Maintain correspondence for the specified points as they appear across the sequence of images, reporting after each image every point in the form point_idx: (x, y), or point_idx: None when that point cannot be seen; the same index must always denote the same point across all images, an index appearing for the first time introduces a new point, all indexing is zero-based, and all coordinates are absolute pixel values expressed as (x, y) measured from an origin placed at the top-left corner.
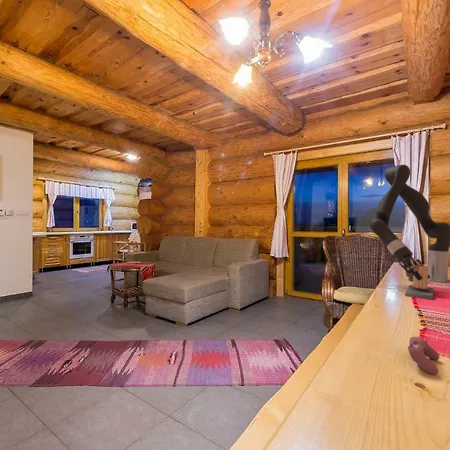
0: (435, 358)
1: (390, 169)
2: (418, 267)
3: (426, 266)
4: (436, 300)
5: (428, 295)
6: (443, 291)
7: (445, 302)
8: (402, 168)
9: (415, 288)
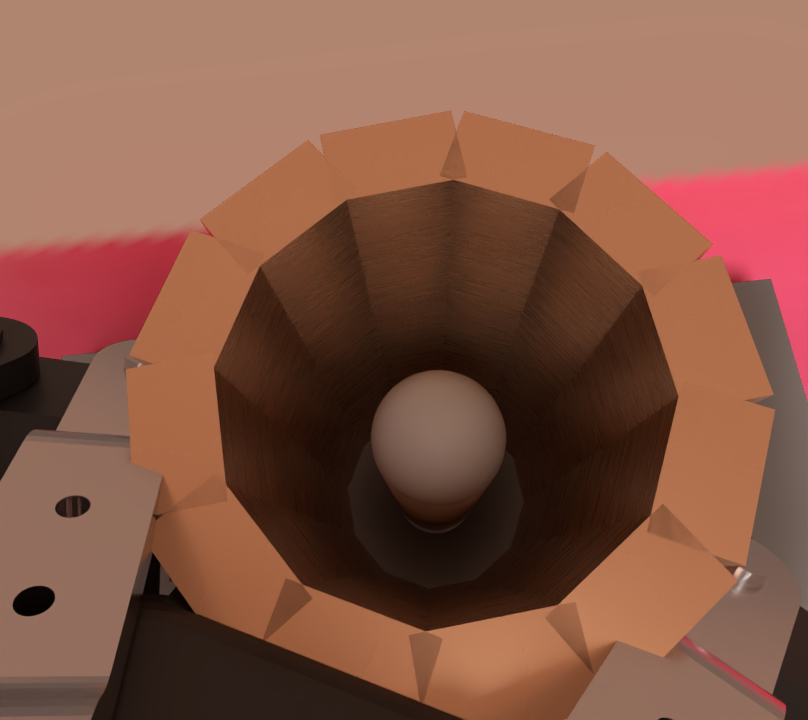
0: None
1: None
2: (752, 432)
3: (433, 164)
4: (727, 260)
5: (760, 331)
6: (32, 268)
7: (742, 171)
8: None
9: (469, 568)
